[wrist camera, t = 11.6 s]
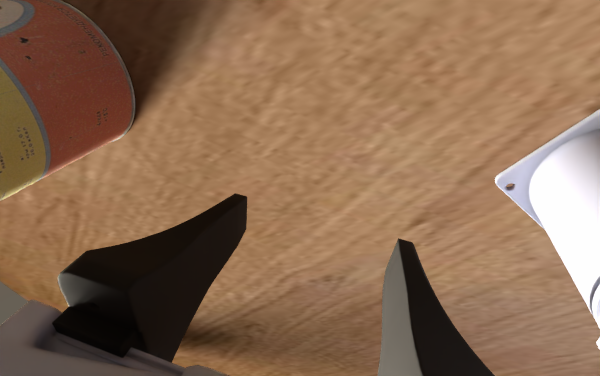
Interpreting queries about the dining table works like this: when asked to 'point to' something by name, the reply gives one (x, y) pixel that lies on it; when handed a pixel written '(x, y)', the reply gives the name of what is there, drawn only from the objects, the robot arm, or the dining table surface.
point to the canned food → (56, 90)
